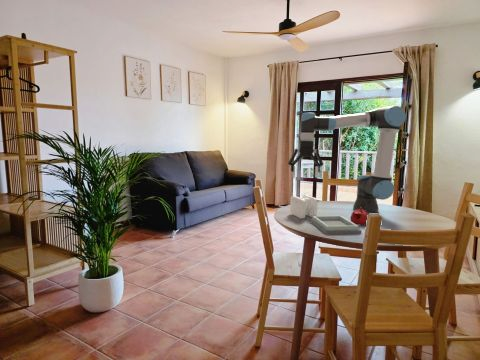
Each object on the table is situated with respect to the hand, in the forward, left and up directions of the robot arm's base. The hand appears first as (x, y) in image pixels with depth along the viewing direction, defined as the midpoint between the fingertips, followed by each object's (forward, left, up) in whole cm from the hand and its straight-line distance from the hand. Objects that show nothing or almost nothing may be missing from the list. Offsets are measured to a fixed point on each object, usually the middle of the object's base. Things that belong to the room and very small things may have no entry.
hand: (304, 177), depth 177 cm
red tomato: (-26, +17, -23) cm, 39 cm away
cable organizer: (0, 0, -23) cm, 23 cm away
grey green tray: (-9, +23, -23) cm, 34 cm away
